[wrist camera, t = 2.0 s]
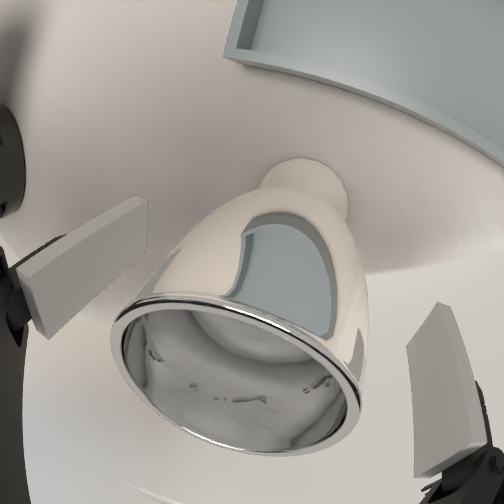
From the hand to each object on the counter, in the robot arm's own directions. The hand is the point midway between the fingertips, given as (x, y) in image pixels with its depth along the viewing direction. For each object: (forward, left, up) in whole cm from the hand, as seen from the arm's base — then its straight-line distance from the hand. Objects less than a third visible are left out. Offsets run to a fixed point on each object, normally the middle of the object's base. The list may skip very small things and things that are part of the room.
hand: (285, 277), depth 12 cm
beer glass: (0, 0, -9) cm, 9 cm away
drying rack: (+5, +15, -9) cm, 18 cm away
